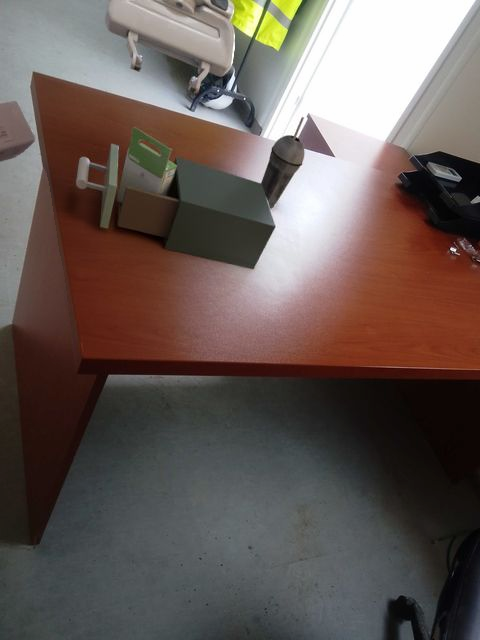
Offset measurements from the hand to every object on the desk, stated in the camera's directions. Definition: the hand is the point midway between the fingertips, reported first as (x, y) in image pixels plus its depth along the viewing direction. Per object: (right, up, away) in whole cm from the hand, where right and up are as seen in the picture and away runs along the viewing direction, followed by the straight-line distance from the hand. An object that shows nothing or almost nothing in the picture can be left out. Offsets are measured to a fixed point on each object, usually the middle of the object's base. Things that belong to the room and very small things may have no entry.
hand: (165, 80), depth 73 cm
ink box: (-6, -19, +6) cm, 21 cm away
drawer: (-7, -20, +6) cm, 21 cm away
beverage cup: (+16, -10, +31) cm, 36 cm away
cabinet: (+5, -22, +12) cm, 26 cm away
